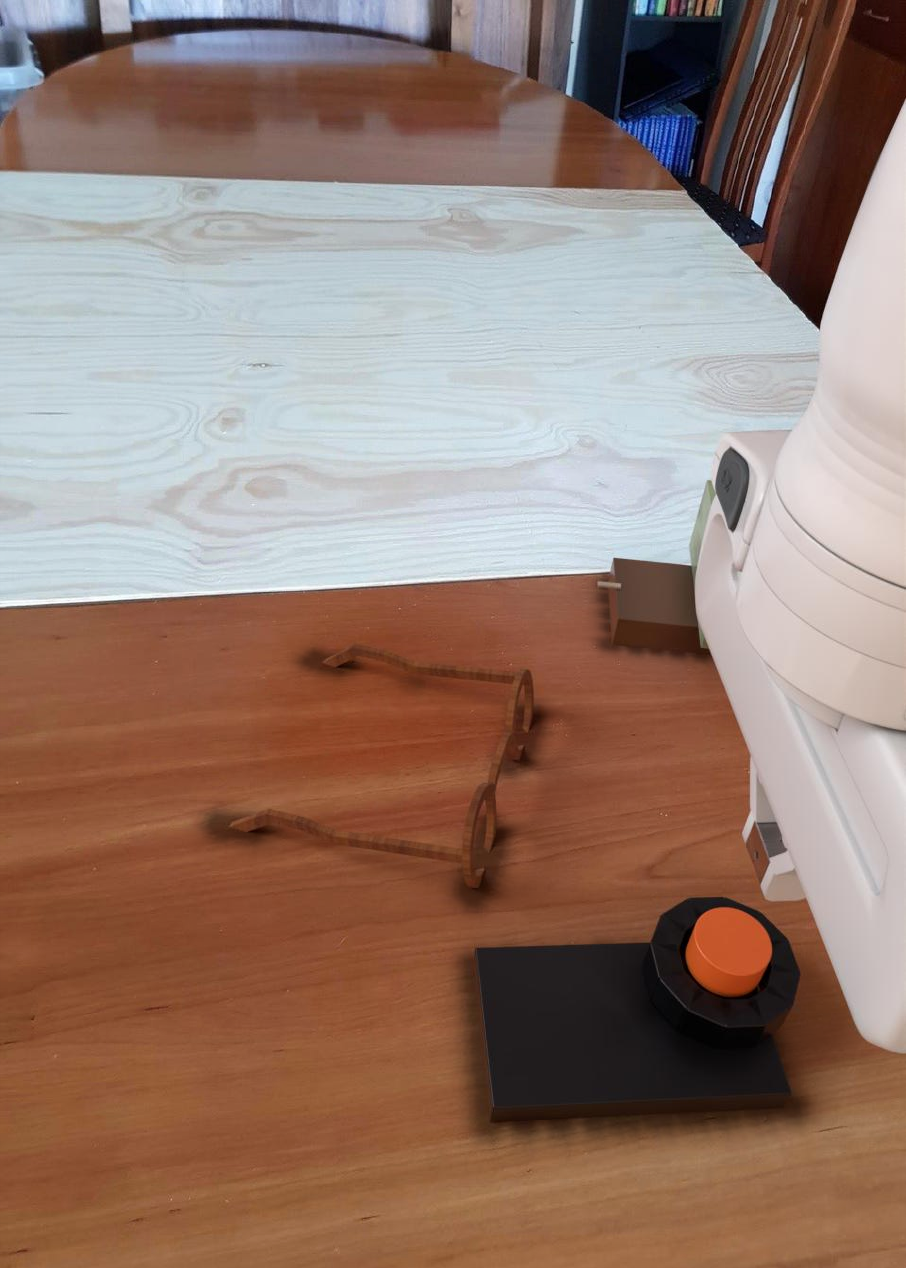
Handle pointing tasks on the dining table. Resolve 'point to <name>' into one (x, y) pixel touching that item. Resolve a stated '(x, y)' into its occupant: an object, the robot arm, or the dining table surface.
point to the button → (728, 952)
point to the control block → (629, 1027)
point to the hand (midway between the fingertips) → (772, 869)
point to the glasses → (482, 793)
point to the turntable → (653, 606)
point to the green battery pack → (701, 538)
